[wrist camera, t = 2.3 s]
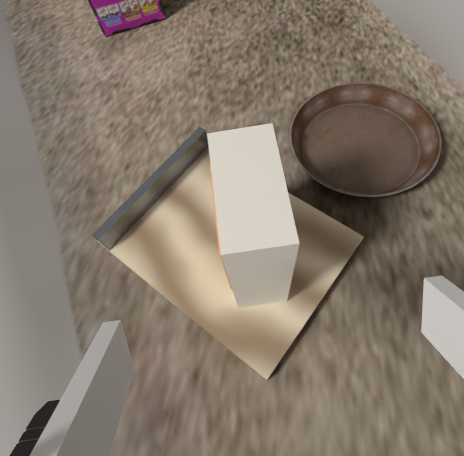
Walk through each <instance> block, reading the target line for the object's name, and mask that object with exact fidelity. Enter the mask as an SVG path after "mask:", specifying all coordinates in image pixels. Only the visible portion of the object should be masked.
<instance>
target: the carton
mask: <svg viewBox="0 0 464 456" xmlns="http://www.w3.org/2000/svg"><path fill="white" fill-rule="evenodd" d="M207 137H208V146H209V155H210V164H209V167H210V176H211V184H212V193H213V202H214V211H215V220H216V229H217V238H218V247H219V255H220V258H221V261H222V264H223V267H224V270H225V273H226V276H227V279H228V282H229V285H230V288H231V290H233V293H234V297H235V300H236V303H237V306H238V308H245V307H252V306H259V305H266V304H273V303H280V302H287V299H288V295H289V290H290V285H291V281H292V276H293V271H294V267H295V262H296V257H297V253H298V248H299V239H298V235H297V230H296V226H295V221H294V217H293V213H292V208H291V204H290V199H289V195H288V191H287V186H286V182H285V177H284V173H283V169H282V164H281V160H280V155H279V151H278V146H277V142H276V138H275V133H274V129H273V124H272V123H271V124H265V125H259V126H252V127H246V128H240V129H233V130H227V131H220V132H214V133H208V134H207Z"/></svg>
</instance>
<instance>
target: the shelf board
mask: <svg viewBox="0 0 464 456" xmlns="http://www.w3.org/2000/svg"><path fill="white" fill-rule="evenodd" d="M209 164H210V155H209V147H208V148H207V149H206V150H205V151H204V152H203V153H202V154H201V155H200V156H199V158H198V159H197V160H196V161H195V162H194V163H193V164H192V165H191V166H190V167H189V168H188V169H187V170H186V171H185V172H184V173H183V174H182V175H181V176H180V177H179V178H178V180H177V181H176V182H175V183H174V184H173V185H172V186H171V187H170V188H169V189H168V190H167V191H166V192H165V193H164V194H163V195H162V196H161V197H160V198H159V199H158V200H157V202H156V203H155V204H154V205H153V206H152V207H151V208H150V209H149V210H148V211H147V212H146V213H145V214H144V215H143V216H142V217H141V218H140V219H139V220H138V221H137V222H136V224H135V225H134V226H133V227H132V228H131V229H130V230H129V231H128V232H127V233H126V234H125V235H124V236H123V237H122V238H121V239H120V240H119V241H118V242H117V243H116V244H115V246H114V247H113V248H112V249H111V250H110V252H111V253H112V254H113V255H114V256H116V257H117V258H118V259H119V260H121V261H122V262H123V263H124V264H125V265H127V266H128V267H129V268H130V269H132V270H133V271H134V272H135V273H136V274H138V275H139V276H140V277H141V278H142V279H144V280H145V281H146V282H147V283H149V284H150V285H151V286H152V287H153V288H155V289H156V290H157V291H158V292H160V293H161V294H162V295H163V296H164V297H166V298H167V299H168V300H169V301H171V302H172V303H173V304H174V305H175V306H177V307H178V308H179V309H180V310H181V311H183V312H184V313H185V314H186V315H188V316H189V317H190V318H191V319H192V320H194V321H195V322H196V323H197V324H199V325H200V326H201V327H202V328H203V329H205V330H206V331H207V332H208V333H210V334H211V335H212V336H213V337H214V338H216V339H217V340H218V341H219V342H221V343H222V344H223V345H224V346H225V347H227V348H228V349H229V350H230V351H231V352H233V353H234V354H235V355H236V356H238V357H239V358H240V359H241V360H242V361H244V362H245V363H246V364H247V365H249V366H250V367H251V368H252V369H253V370H255V371H256V372H257V373H258V374H260V375H261V376H262V377H263V378H264V379H266V380H268V378H269V377H270V375H271V374H272V372H273V371H274V369H275V368H276V366H277V365H278V364H279V362H280V361H281V359H282V358H283V356H284V355H285V353H286V352H287V350H288V349H289V347H290V346H291V344H292V343H293V341H294V340H295V338H296V337H297V336H298V334H299V333H300V331H301V330H302V328H303V327H304V325H305V324H306V322H307V321H308V319H309V318H310V316H311V315H312V313H313V312H314V310H315V309H316V307H317V306H318V305H319V303H320V302H321V300H322V299H323V297H324V296H325V294H326V293H327V291H328V290H329V288H330V287H331V285H332V284H333V282H334V281H335V279H336V278H337V277H338V275H339V274H340V272H341V271H342V269H343V268H344V266H345V265H346V263H347V262H348V260H349V259H350V257H351V256H352V254H353V253H354V251H355V250H356V249H357V247H358V246H359V244H360V243H361V241H362V239H363V238H364V236H362V235H360V234H358V233H357V232H355V231H353V230H352V229H350V228H348V227H346V226H345V225H343V224H341V223H340V222H338V221H336V220H334V219H333V218H331V217H329V216H328V215H326V214H324V213H323V212H321V211H319V210H317V209H316V208H314V207H312V206H311V205H309V204H307V203H305V202H304V201H302V200H300V199H299V198H297V197H295V196H293V195H292V194H290V193H288V195H289V199H290V204H291V208H292V213H293V217H294V221H295V226H296V230H297V235H298V239H299V248H298V253H297V257H296V262H295V267H294V271H293V276H292V281H291V285H290V290H289V295H288V299H287V302H280V303H273V304H266V305H259V306H252V307H245V308H238V306H237V303H236V300H235V297H234V293H233V290H231V288H230V285H229V282H228V279H227V276H226V273H225V270H224V267H223V264H222V261H221V258H220V255H219V247H218V238H217V229H216V220H215V211H214V202H213V193H212V184H211V176H210V167H209ZM98 242H99V241H98ZM99 243H100V242H99ZM100 244H101V243H100ZM101 245H102V244H101ZM102 246H103V245H102ZM103 247H104V246H103ZM106 249H107V248H106ZM107 250H108V249H107ZM108 251H109V250H108Z"/></svg>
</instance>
